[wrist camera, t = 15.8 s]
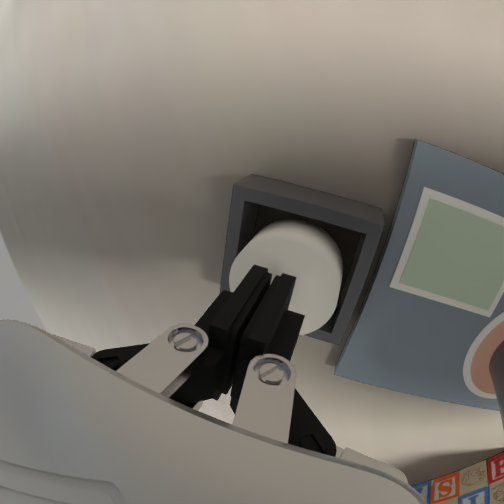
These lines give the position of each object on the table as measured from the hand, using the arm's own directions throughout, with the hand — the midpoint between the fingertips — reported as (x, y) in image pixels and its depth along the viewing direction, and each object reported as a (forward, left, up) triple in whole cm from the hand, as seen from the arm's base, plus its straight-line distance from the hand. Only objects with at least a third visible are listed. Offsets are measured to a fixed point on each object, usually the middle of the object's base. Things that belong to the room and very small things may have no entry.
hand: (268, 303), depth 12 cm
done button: (0, 0, -3) cm, 3 cm away
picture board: (-13, 0, -5) cm, 14 cm away
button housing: (0, 0, -5) cm, 5 cm away
